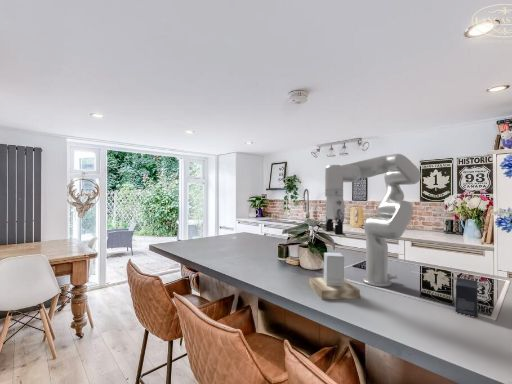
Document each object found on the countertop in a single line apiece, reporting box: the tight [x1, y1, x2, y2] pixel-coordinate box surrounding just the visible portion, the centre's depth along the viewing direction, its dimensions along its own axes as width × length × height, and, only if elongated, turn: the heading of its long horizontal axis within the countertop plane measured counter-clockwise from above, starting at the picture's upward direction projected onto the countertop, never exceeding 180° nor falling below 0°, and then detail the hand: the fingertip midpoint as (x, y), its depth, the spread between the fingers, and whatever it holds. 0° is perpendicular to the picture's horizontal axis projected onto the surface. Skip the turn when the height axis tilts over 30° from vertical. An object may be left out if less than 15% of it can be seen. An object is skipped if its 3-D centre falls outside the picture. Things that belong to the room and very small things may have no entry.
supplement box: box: [323, 252, 345, 286], centre depth 115 cm, size 7×7×13 cm
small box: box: [454, 277, 479, 318], centre depth 97 cm, size 11×6×10 cm, turn 141°
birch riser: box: [308, 277, 361, 300], centre depth 115 cm, size 16×16×4 cm
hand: (334, 232), depth 115 cm, fingers open, 9 cm apart
